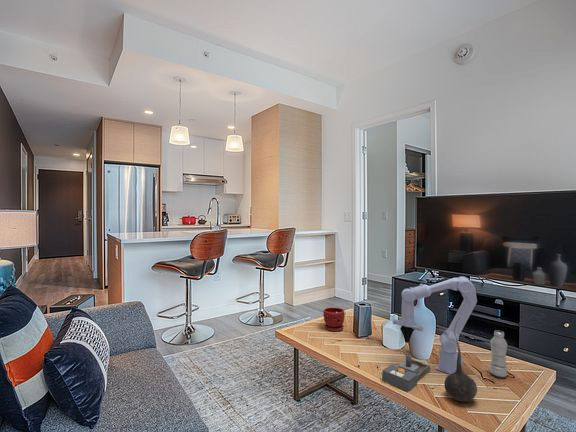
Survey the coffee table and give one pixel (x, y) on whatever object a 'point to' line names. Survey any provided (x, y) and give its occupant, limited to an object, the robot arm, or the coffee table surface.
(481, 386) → the coffee table surface
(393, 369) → the grey open box
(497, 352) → the plastic bottle
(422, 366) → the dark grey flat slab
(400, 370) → the button
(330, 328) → the plant pot
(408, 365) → the carriage
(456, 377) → the radish
